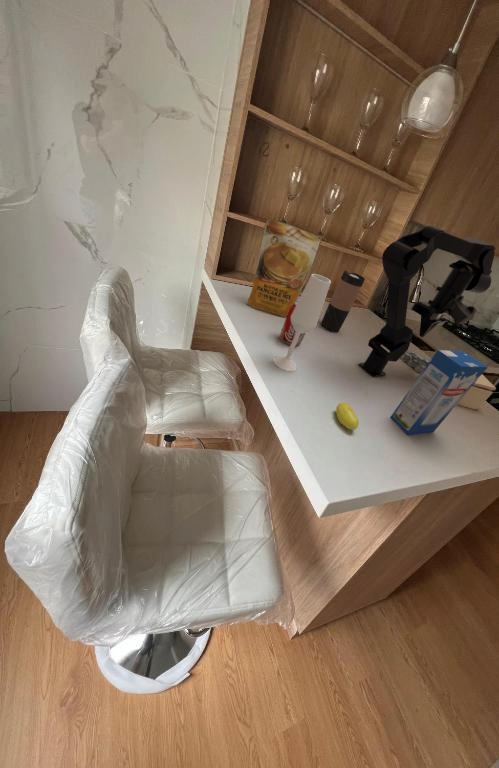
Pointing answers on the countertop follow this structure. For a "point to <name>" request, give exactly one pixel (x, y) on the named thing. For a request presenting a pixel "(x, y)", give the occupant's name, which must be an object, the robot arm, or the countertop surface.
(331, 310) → the travel mug
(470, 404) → the cardboard box
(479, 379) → the lid
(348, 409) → the lemon
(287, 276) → the pancake mix bag
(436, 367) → the milk carton
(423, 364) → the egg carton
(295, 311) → the champagne flute
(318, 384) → the countertop surface
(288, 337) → the soda can
